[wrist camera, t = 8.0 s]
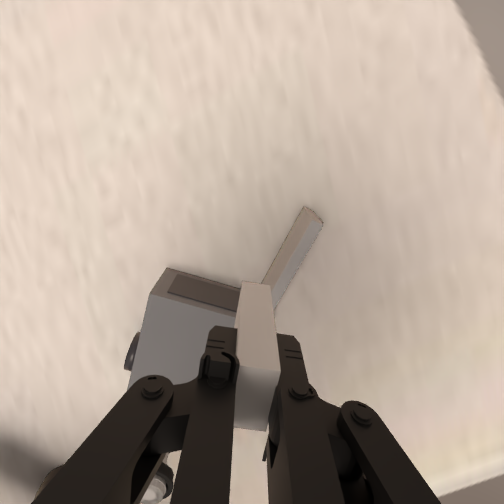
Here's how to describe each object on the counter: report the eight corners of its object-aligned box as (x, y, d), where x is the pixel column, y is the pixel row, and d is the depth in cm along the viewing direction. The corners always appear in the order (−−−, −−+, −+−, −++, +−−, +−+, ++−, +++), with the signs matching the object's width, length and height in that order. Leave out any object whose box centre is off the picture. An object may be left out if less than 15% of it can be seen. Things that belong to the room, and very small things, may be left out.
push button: (169, 396, 45) (146, 466, 35) (200, 414, 46) (185, 486, 37) (144, 423, 47) (116, 497, 37) (174, 440, 48) (155, 515, 38)
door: (256, 291, 38) (256, 317, 33) (303, 206, 35) (312, 219, 29) (269, 297, 39) (271, 323, 33) (317, 213, 35) (328, 227, 30)
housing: (226, 392, 44) (220, 439, 38) (132, 368, 43) (109, 412, 36) (262, 294, 39) (264, 328, 32) (157, 263, 38) (135, 292, 31)
